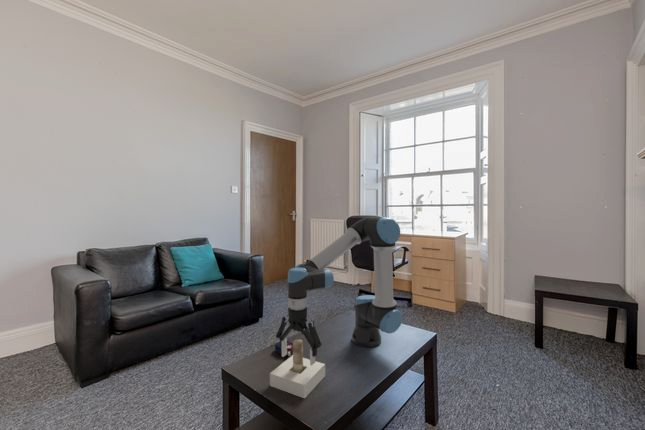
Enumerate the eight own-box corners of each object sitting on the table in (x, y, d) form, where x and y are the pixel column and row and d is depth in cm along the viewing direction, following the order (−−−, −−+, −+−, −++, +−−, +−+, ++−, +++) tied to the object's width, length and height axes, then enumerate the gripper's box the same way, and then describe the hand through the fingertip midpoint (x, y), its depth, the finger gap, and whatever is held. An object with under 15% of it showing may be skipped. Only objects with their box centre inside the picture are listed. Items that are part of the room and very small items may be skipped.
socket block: (293, 365, 128) (293, 354, 128) (325, 375, 120) (325, 364, 120) (270, 385, 114) (269, 373, 114) (304, 398, 106) (304, 385, 106)
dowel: (296, 376, 120) (296, 338, 119) (305, 379, 118) (304, 340, 117) (291, 382, 116) (290, 342, 116) (299, 385, 114) (299, 344, 114)
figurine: (291, 354, 130) (271, 343, 141) (291, 363, 130) (272, 352, 141) (306, 347, 136) (286, 337, 147) (306, 356, 137) (286, 345, 147)
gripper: (267, 305, 119) (267, 356, 120) (320, 315, 107) (320, 372, 108) (278, 299, 125) (278, 348, 126) (329, 309, 113) (330, 362, 114)
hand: (298, 359), depth 117 cm, fingers open, 13 cm apart
